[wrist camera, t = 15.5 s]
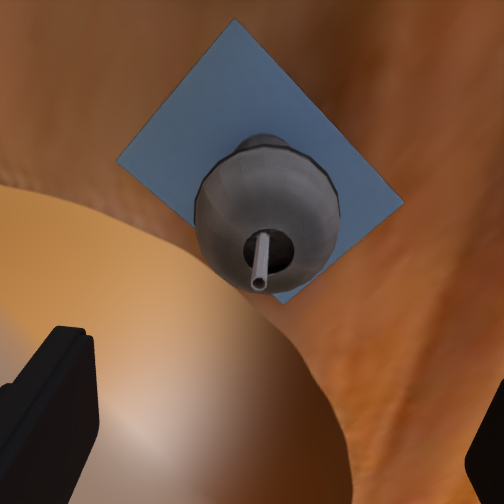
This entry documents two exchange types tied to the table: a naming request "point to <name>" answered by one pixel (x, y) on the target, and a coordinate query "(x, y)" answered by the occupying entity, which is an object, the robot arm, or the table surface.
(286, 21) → the table surface
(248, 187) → the beverage cup
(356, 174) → the desk mat
